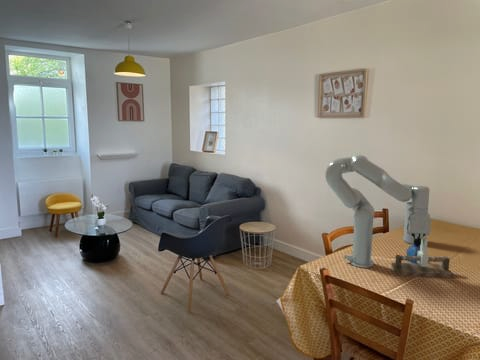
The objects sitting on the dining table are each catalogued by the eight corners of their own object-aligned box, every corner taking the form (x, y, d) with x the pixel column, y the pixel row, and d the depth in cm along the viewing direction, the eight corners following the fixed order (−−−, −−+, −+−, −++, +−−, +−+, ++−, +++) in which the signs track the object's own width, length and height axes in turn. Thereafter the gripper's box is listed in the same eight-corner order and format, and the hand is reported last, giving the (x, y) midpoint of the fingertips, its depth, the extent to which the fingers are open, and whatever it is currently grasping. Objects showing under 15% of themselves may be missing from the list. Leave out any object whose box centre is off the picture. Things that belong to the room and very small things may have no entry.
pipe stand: (398, 275, 178) (399, 259, 177) (391, 266, 190) (392, 251, 189) (453, 277, 175) (455, 261, 174) (442, 268, 187) (443, 253, 186)
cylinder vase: (428, 245, 223) (431, 206, 219) (408, 244, 223) (411, 206, 219) (419, 238, 235) (422, 201, 231) (400, 238, 236) (402, 201, 232)
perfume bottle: (414, 264, 192) (416, 243, 191) (406, 260, 198) (407, 239, 196) (423, 263, 194) (425, 242, 192) (415, 259, 200) (417, 238, 198)
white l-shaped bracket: (421, 266, 179) (423, 239, 177) (416, 262, 185) (419, 236, 183) (427, 266, 179) (430, 240, 177) (422, 262, 185) (425, 236, 183)
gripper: (406, 212, 175) (404, 248, 178) (438, 212, 173) (435, 248, 176) (401, 208, 182) (399, 243, 185) (432, 209, 181) (429, 243, 184)
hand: (417, 245), depth 181 cm, fingers closed
